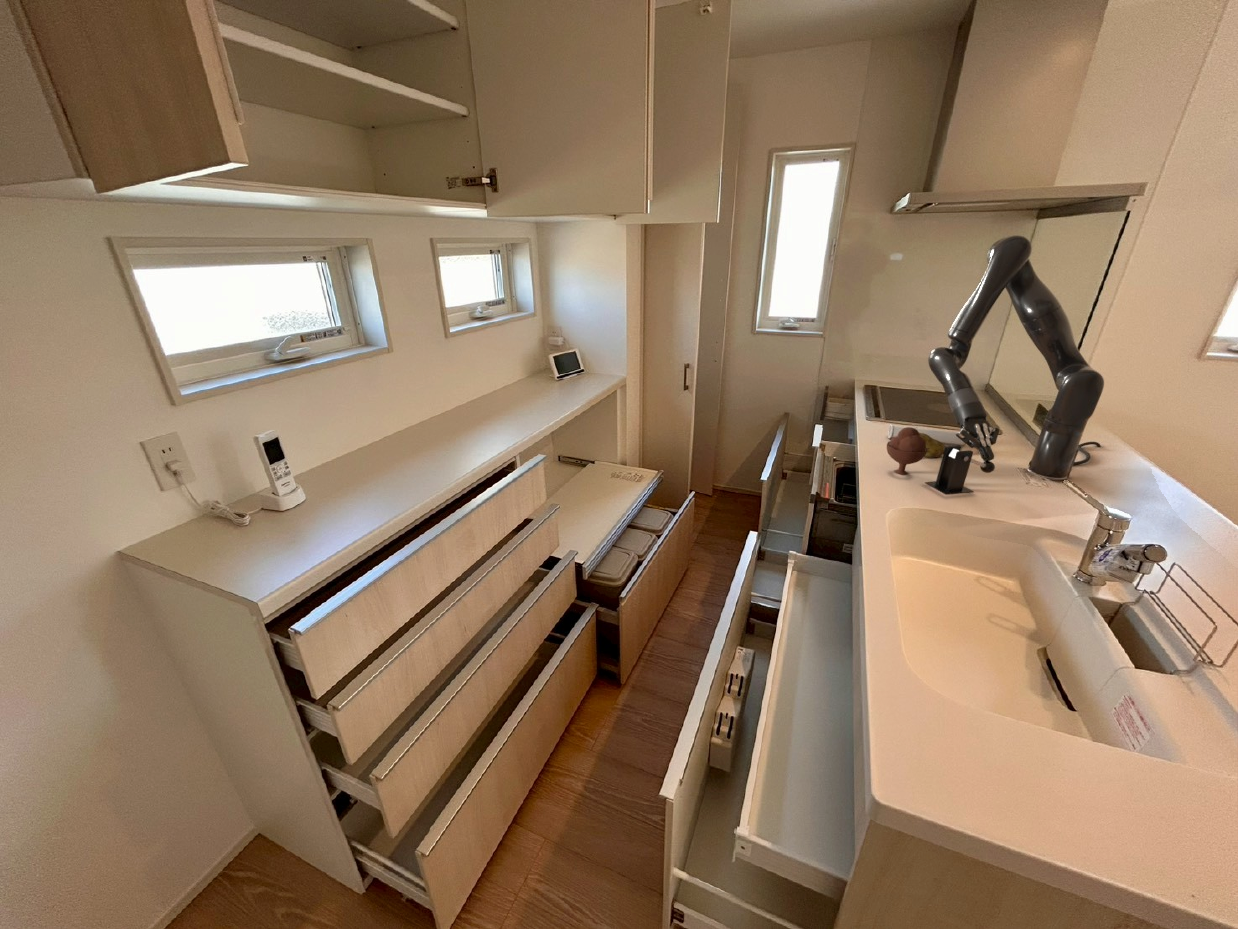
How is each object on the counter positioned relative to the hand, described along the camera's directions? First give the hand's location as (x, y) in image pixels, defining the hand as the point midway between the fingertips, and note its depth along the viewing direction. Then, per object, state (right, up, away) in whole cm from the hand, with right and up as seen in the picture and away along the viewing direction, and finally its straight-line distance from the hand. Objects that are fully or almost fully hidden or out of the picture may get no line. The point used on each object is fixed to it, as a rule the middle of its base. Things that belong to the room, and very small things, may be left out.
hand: (989, 460), depth 141 cm
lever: (-6, -2, 0) cm, 6 cm away
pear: (-2, +1, +26) cm, 27 cm away
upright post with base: (-11, -9, +2) cm, 14 cm away
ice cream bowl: (-19, -5, +12) cm, 23 cm away
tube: (+6, +7, +39) cm, 40 cm away
